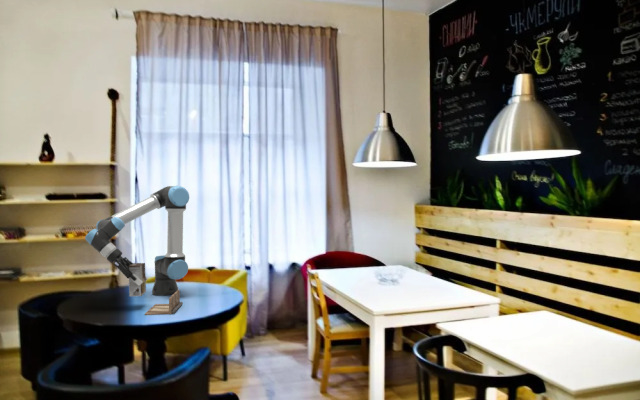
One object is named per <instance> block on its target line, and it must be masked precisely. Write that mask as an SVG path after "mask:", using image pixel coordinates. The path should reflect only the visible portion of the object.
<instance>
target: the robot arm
mask: <svg viewBox="0 0 640 400" xmlns="http://www.w3.org/2000/svg"><path fill="white" fill-rule="evenodd" d="M189 200H190V194H189V191H188V190H187V189H186V187H183V186H180V185H179V186H178V185H167V186H165V187H163V188H161V189H159V190H157V191H156V192H153V193H152V194H150V195H149V197H147V198H145V199H143V200H141V201H139V202H137V203H135V204H133V205H131V206H129V207H127V208H124V209H123V210H121V211H118V212H117V213H114V214H113V215H111V216H109V217H107V218H105V219H100V220H98V221H97V222H96V224H95V228H93V229H92V230H90V231H89V232H88V233H87V234H86V235H85V236H84V240H85V241H86V242H87V243H88V244H89V245H90V246H91V247H93V249H94V250H96V251H97V252H98V253H99V254H101V257H104V258H106V260H107V261H108V262H109V263H110V264H113V265H114V266H115V267H116V268H117V269H118V270H119V272H121V273H122V274H123V275H124V276H125V277H126V279H129V277H130V278H131V279H132V280H133V281H134V282H135V283H136V284H137V285H138V286H140V285H141V284H142V283H143V282H142V281H141V280H140V279H139V278H138V277H137V276H136V275H135V274H133V275H132V272H131V271H130V270H129V269H128V266H130V265H131V264H133V263H134V262H132V261H131V260H130V259H128V258H127V257H126V256H125V257H123V256H122V255H123V252H122V251H121V249H118V248H117V246H116V245H114V243H112V242H111V241H110V240H111V239H113V237H115V236H116V235H118V234H119V232H121V231H122V230H124V228H125V227H126V224H128V223H130V222H133V221H134V220H136V219H138V218H139V217H142V216H144V215H146V214H147V213H149V212H152V211H154V210H156V209H157V210H160V209H161V208H163V207H164V208H165V210H166V212H167V243H166V245H167V246H166V254H165V255H156V256H155V257H154V283H153V286H152V288H151V289H152V293H151V294H152V295H153V296H172V295H173V294H174V293H175V292H176V291H177V290H179V286H178V283H177V280H180V279H183V278H184V277H185V276H186V275H187V274H188V271H189V265H188V263H187V262H186V255H185V254H184V252H183V245H184V244H183V243H184V240H183V239H184V235H183V234H184V212H185V211H186V209H187V204H188V203H189ZM148 279H149V278H148V276H146V281H147V280H148Z"/></svg>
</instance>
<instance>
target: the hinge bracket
mask: <svg viewBox="0 0 640 400" xmlns="http://www.w3.org/2000/svg"><path fill="white" fill-rule="evenodd" d="M180 292H181V291H180V289H178V290H177V291H176V292H175V293H174V294H172V295H170V297H168V303H155V304H154V305H153V306H151V307H150V308H149V309H148V310H147V311H146V312H145V313H144V316H150V315H151V316H152V315H153V316H154V315H159V316H161V315H174V314H175V313H176V312H177V311H178V310H179V309H180V308H181V307H182V305H183V301H181V299H180V297H181V296H180V294H181V293H180Z"/></svg>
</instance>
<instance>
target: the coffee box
mask: <svg viewBox="0 0 640 400" xmlns="http://www.w3.org/2000/svg"><path fill="white" fill-rule="evenodd" d="M132 263H133V264H131V265H130V266H128V269H129V270H130V271H131V272H132V275H133V274H135V275H136V276H137V277H138V278H139V279H140V280H141V281H142V282H143V283H142V284H141V285H140V286H138V285H137V284H136V283H135V282H134V281H133V280H132V279H131V278H130V277H129V278H128V291H129V292H128V294H129V295H128V296H129V297H143V295H145V294H146V292H147V284H146V283H147V280H146V277H147V276H146V275H147V274H146V263H145V262H132Z"/></svg>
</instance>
